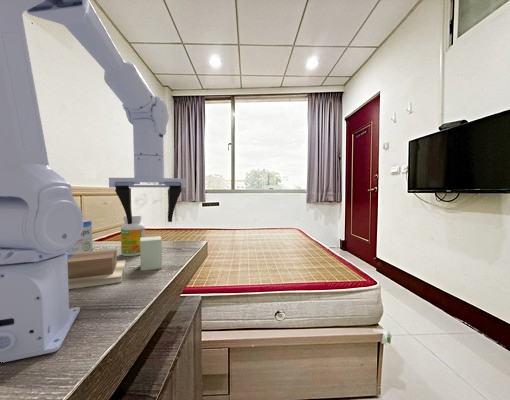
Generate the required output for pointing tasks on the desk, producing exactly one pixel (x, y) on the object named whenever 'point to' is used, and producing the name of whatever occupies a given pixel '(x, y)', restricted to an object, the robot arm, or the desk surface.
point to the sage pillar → (151, 252)
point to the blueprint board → (99, 278)
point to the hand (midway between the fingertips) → (150, 222)
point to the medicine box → (83, 240)
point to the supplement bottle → (131, 236)
